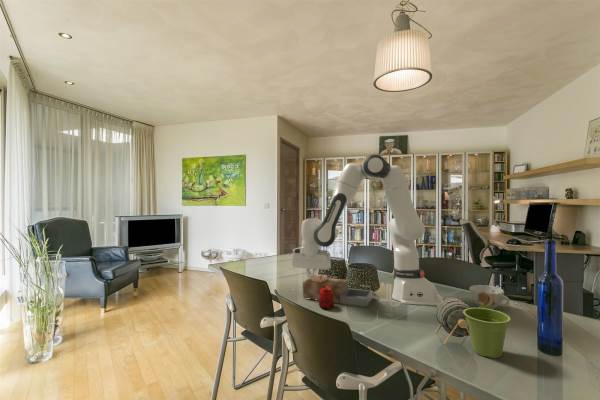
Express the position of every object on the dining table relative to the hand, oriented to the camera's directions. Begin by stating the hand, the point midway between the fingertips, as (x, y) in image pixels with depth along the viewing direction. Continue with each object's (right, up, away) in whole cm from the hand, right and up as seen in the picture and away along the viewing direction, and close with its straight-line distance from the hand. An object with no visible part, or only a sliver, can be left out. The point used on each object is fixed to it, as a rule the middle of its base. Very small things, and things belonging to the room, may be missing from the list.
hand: (311, 277), depth 148 cm
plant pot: (+50, -7, -61) cm, 79 cm away
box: (+21, -8, -10) cm, 25 cm away
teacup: (+74, -7, -24) cm, 78 cm away
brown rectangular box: (+7, -9, -4) cm, 12 cm away
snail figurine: (+65, -7, -37) cm, 75 cm away
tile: (+4, -1, -2) cm, 5 cm away
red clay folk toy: (+6, -9, -18) cm, 21 cm away
